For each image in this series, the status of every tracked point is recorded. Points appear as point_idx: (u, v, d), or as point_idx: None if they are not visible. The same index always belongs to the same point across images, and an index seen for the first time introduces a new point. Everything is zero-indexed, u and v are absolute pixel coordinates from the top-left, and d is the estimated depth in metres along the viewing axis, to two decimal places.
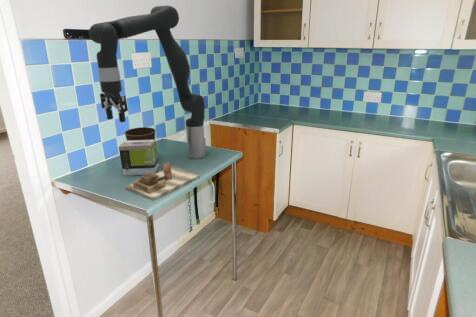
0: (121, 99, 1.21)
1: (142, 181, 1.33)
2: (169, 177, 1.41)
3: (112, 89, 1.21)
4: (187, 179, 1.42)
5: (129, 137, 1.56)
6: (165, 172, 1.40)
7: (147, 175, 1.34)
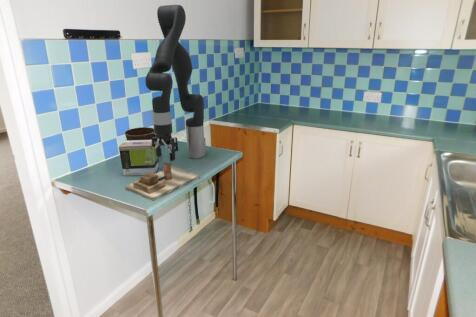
0: (173, 141, 1.31)
1: (142, 181, 1.33)
2: (169, 177, 1.41)
3: (165, 131, 1.31)
4: (187, 179, 1.42)
5: (129, 137, 1.56)
6: (165, 172, 1.40)
7: (147, 175, 1.34)
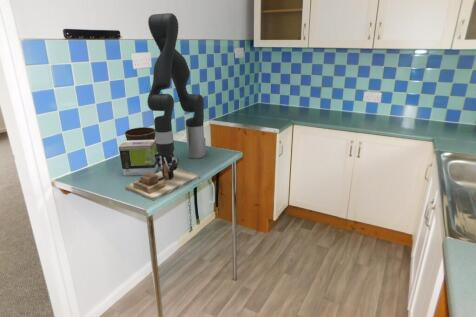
0: (175, 162, 1.35)
1: (142, 181, 1.33)
2: None
3: (167, 150, 1.34)
4: (187, 179, 1.42)
5: (129, 137, 1.56)
6: (165, 172, 1.40)
7: (147, 175, 1.34)
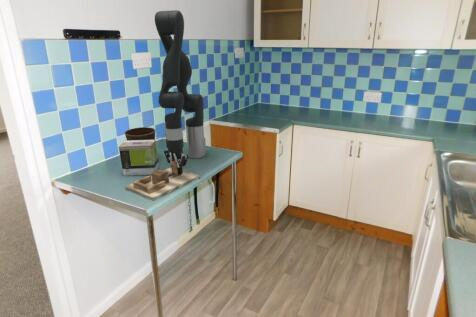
0: (184, 158, 1.39)
1: (153, 178, 1.36)
2: None
3: (177, 146, 1.38)
4: (187, 179, 1.42)
5: (129, 137, 1.56)
6: (174, 168, 1.44)
7: (158, 172, 1.37)
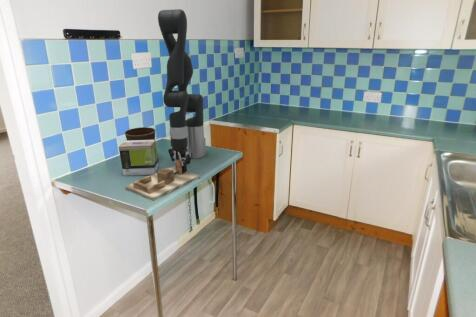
0: (188, 157, 1.41)
1: (159, 176, 1.37)
2: None
3: (181, 145, 1.40)
4: (187, 179, 1.42)
5: (129, 137, 1.56)
6: (178, 167, 1.45)
7: (163, 170, 1.38)
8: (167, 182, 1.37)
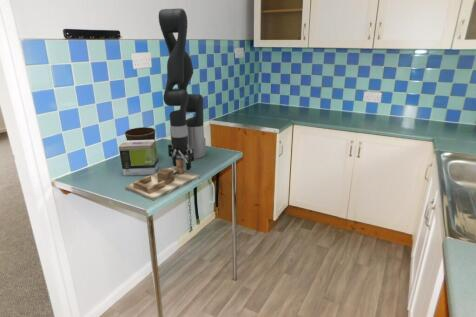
0: (190, 152, 1.41)
1: (159, 176, 1.37)
2: (182, 172, 1.47)
3: (182, 143, 1.40)
4: (187, 179, 1.42)
5: (129, 137, 1.56)
6: (178, 167, 1.45)
7: (163, 170, 1.38)
8: (167, 182, 1.37)
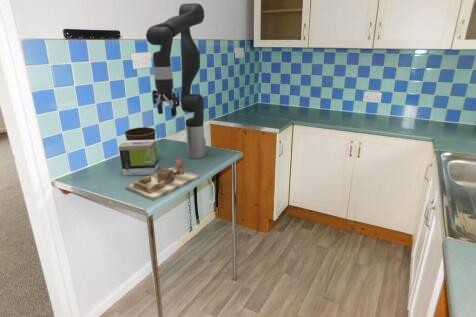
0: (175, 95, 1.33)
1: (159, 176, 1.37)
2: (182, 172, 1.47)
3: (166, 86, 1.33)
4: (187, 179, 1.42)
5: (129, 137, 1.56)
6: (178, 167, 1.45)
7: (163, 170, 1.38)
8: (167, 182, 1.37)
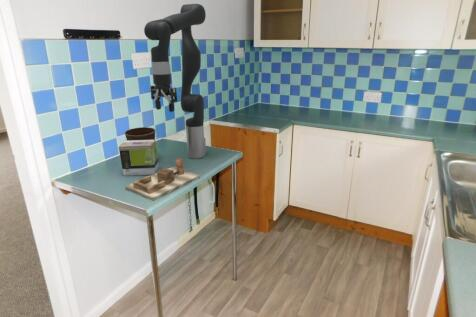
0: (172, 90, 1.33)
1: (159, 176, 1.37)
2: (182, 172, 1.47)
3: (164, 81, 1.33)
4: (187, 179, 1.42)
5: (129, 137, 1.56)
6: (178, 167, 1.45)
7: (163, 170, 1.38)
8: (167, 182, 1.37)
